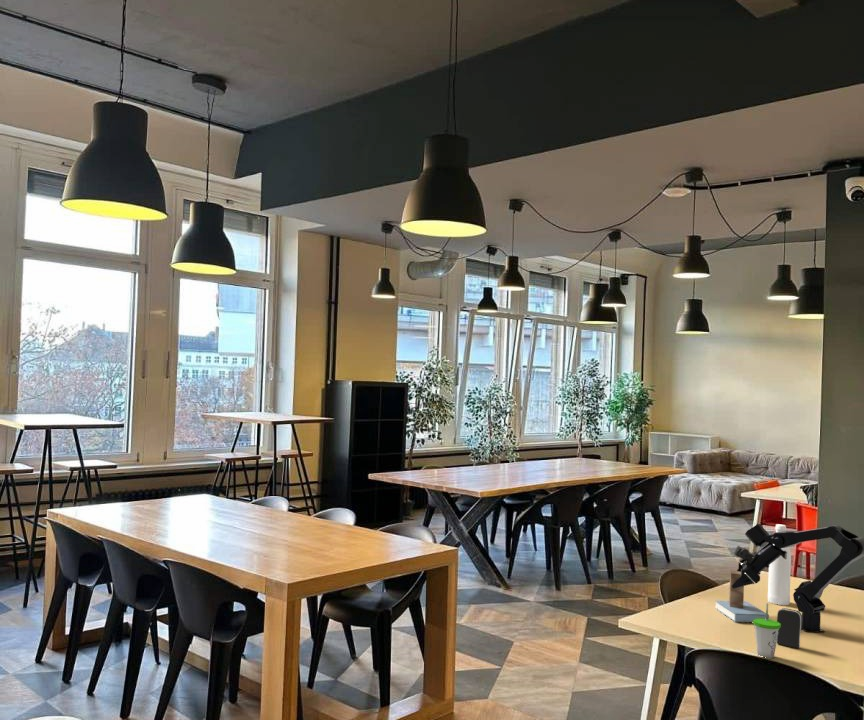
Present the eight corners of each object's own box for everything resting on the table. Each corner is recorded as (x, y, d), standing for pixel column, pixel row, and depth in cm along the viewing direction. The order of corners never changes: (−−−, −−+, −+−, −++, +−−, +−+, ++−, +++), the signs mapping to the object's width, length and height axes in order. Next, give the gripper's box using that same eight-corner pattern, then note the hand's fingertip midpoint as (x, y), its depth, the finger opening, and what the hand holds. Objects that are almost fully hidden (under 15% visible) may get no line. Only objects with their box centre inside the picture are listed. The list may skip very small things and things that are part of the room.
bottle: (768, 604, 298) (771, 525, 299) (766, 599, 305) (768, 522, 306) (791, 606, 295) (793, 527, 297) (788, 601, 303) (790, 524, 304)
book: (768, 623, 271) (769, 614, 271) (735, 622, 271) (735, 613, 271) (746, 609, 288) (746, 601, 288) (715, 608, 287) (715, 600, 288)
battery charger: (802, 646, 247) (803, 610, 247) (799, 649, 244) (800, 612, 244) (778, 641, 251) (780, 606, 251) (775, 644, 248) (776, 608, 248)
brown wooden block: (742, 605, 283) (743, 572, 283) (743, 608, 278) (744, 574, 279) (729, 603, 284) (730, 570, 285) (729, 606, 280) (730, 573, 280)
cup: (770, 662, 230) (772, 611, 231) (746, 654, 237) (748, 604, 237) (784, 658, 235) (786, 608, 235) (760, 650, 241) (762, 601, 242)
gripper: (746, 535, 290) (714, 561, 293) (751, 544, 272) (716, 572, 275) (768, 558, 287) (735, 585, 290) (774, 569, 270) (739, 597, 272)
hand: (731, 584), depth 282 cm, fingers open, 9 cm apart
